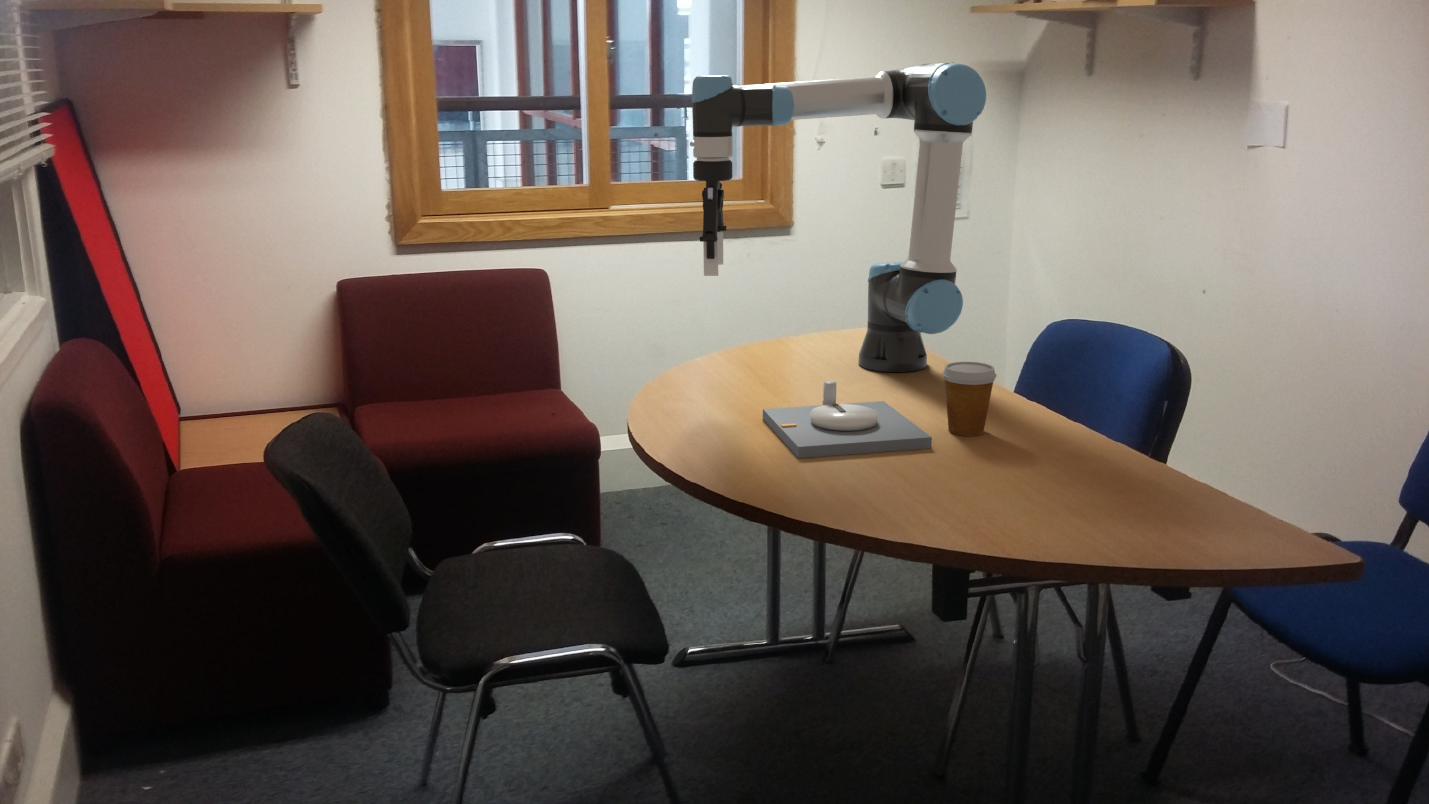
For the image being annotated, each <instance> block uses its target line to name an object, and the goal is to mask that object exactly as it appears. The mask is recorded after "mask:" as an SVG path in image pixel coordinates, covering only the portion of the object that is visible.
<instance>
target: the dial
mask: <svg viewBox="0 0 1429 804" xmlns="http://www.w3.org/2000/svg"><path fill="white" fill-rule="evenodd" d="M822 389H823V390H822V392H823V395H822V398H823V399H822V405H823V406H819V407H816V408H814V409H812V410H811V420H810V421H811V423H812V424H814V425H816V426H818V427H821V428H825V429H831V430H842V431H851V430H862V429H867V428H870V427H873V426H875V425H876V424H877V417H878V413H877V412H876V411H875V410H874V409H871V408H869V407H865V406H860V405H853V404H847V403H837V381H835V380H826V381H823V388H822Z"/></svg>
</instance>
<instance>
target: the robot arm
mask: <svg viewBox="0 0 1429 804" xmlns="http://www.w3.org/2000/svg"><path fill="white" fill-rule="evenodd" d="M691 88H692V89H691V102H690V103H691V109H692V111H691V113H692V137H693V138H692V140H693V141H690V142H689V146H690V147H693V149H692V150H693V151H692V154H693V155H692V156H693V157H694V159H696V160H694V161H693V163H692V171H693V174H692V175H693V179H694V180H695V181H696V182H697V181H698V182H705V187H703V189H702V191H701V198H702V210H703V213H702V214H703V215H702V219H703V220H702V221H703V222H702V225H703V226H702V234H701V235H702V236H699V242H703V244H702V245H703V247H702V248H703V276H704V277H718V276H719V265H721V266H723V265H724V232H727V225H725V222H724V212H723V208H724V199H725V189H724V188H723V182H725V181H726V182H728V181H730V180H731V181H732V180H733V162H732V160H731V159H730V158H732V157H733V156H734V154H733V152H734V151H733V148H734V147H733V146H734V145H733V143H734V141H733V127H736V128H737V127H738V128H739V127H773V128H774V127H776V126H777V127H779V126H786V125H788V124H789V123H790V122H791V121H794V120H795V121H796V120H799V121H800V120H810V119H823V118H824V119H825V118H828V119H829V118H839V117H853V116H869V115H876V116H877V117H878V118H879V119H882V120H883V119H902V120H910V121H911V120H912V121H914V123H913V132H914V133H915V135H916V136H917V137H918V138H919V148H918V159H917V167H916V168H917V170H916V178H915V179H916V180H915V188H914V190H915V191H914V196H913V197H914V201H913V210H912V219H911V220H912V221H911V227H910V241H909V247H908V248H909V249H908V257H907V258H906V259H905V260H904V261H899V262H898V261H897V262H896V261H895V262H893V261H892V262H879V263H874V264H872V265H871V266H870V267H869V273H868V278H867V285H868V286H867V287H868V288H867V289H868V290H867V291H868V294H867V296H868V297H867V326H866V327H867V328H866V329H867V330H866V333H865V335H864V339H863V341H862V345H861V347H860V350H859V352H858V365H859V366H860V367H862V368H863V369H866V370H871V371H877V372H884V373H909V372H915V371H916V372H917V371H920V370H923V369H925V368H926V367H927V365H928V364H927V363H928V355H927V351H926V348H925V343H924V341H923V337H922V334H923V333H924V334H928V335H934V334H935V335H936V334H941V333H942V332H945V331H947V330H948V329H950V328H951V327H952V326H953V325H954V324H956V322H957V321H958V319H959V318H960V316H961V313H962V310H963V307H964V306H963V305H964V299H963V295H962V292H961V290H960V289H959V287H958V285H957V284H956V280H957V279H956V278H957V267H956V266H955V265H954V264H953V262H952V261H951V256H952V247H953V238H954V237H953V236H954V229H955V228H954V227H955V220H956V219H955V218H956V212H957V211H956V209H957V199H958V192H959V182H960V173H961V165H962V154H963V146H964V143H965V141H966V140H967V139H969V138H970V137H971V136H972V133H973V126H974V121H975V120H977V119H978V117H979V116H980V115H982V113H983V111H984V109H985V106H986V102H987V90H986V89H987V88H986V85H985V81H984V80H983V78H982V77H981V76H980V75H979V73H978V72H977V71H976V70H975V69H974V68H973V67H972V66H969V65H968V64H967V65H966V64H963V63H957V62H943V63H922V64H919V65H912V66H908V67H904V68H899V69H892V70H881V71H878V72H877V74H875V76H866V77H865V76H863V77H851V78H848V77H847V78H833V79H819V80H818V79H816V80H804V81H803V80H802V81H788V82H784V81H783V82H774V83H773V82H772V83H770V82H769V83H763V84H760V83H759V84H758V83H756V84H755V83H754V84H742V85H741V84H734V83H733V79H732V76H730V75H728V74H727V75H697V76H695V77H694V79H693V81H692V87H691Z"/></svg>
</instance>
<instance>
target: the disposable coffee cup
mask: <svg viewBox="0 0 1429 804" xmlns="http://www.w3.org/2000/svg"><path fill="white" fill-rule="evenodd" d="M995 372H996V371H995V368H994V366H992V365H991V364H988V363H985V362H978V361H955V362H954V361H953V362H949V363H947V364H945V366H944V370H943V371H941V374H942V376H943V379H944V388H945V400H946V401H945V402H946V412H947V413H946V415H947V416H946V417H947V425H948V432H950V433H951V434H953V435H956V436H962V437H976V436H980V435H983V434H984V432H985V428H986V424H987V423H986V422H987V418H988V413H989V407H990V401H991V396H992V391H993V385H994V382H995V379H996V378H997V373H995Z"/></svg>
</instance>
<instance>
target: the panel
mask: <svg viewBox="0 0 1429 804" xmlns="http://www.w3.org/2000/svg"><path fill="white" fill-rule="evenodd" d="M846 404H853V405H860V406H865V407H869V408H871V409H874V410H875V411H876V412H877V413H878V417H877V424H876V425H875V426H873V427H870V428H867V429H862V430H851V431H842V430H831V429H825V428H821V427H818V426H816V425H814V424H812V423H811V421H810V420H811V410H812V409H814V408H816V407H819V406H823V404H818V405H816V404H815V405H805V406H804V405H803V406H801V405H800V406H787V407H773V408H772V407H771V408H762V421H764V423H766V425H767V426H768V427H769V428H770V429H771V430H772V431H773V432H774V433H775V434H776V435H777V437H778V438H779V439H780V440H781V441H782V442H783V443H784V445H786V447H787V448H789V450H790V451H791V452H792V453H793V454H794V455H795V456H796V458H797V459H805V458H818V457H830V456H831V457H832V456H845V455H858V454H861V455H862V454H870V453H871V454H872V453H882V452H883V453H884V452H898V451H910V450H912V451H913V450H926V449H932V443H933V441H932V440H933V437H932V436H931V435H930V434H928V433H927V432H926V431H924V430H923V429H922V428H920V427H919V426H918V425H916V424H915V423H914V422H912V421H911V420H909V419H908V418H907V417H906V416H904V415H903V414H901V413H900V412H899V411H898V410H897V409H895V408H894V407H892V406H891V405H889V404H888V403H887V402H886V401H885V400H881V401H880V400H879V401H877V400H876V401H864V402H850V403H849V402H847V403H846Z"/></svg>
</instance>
